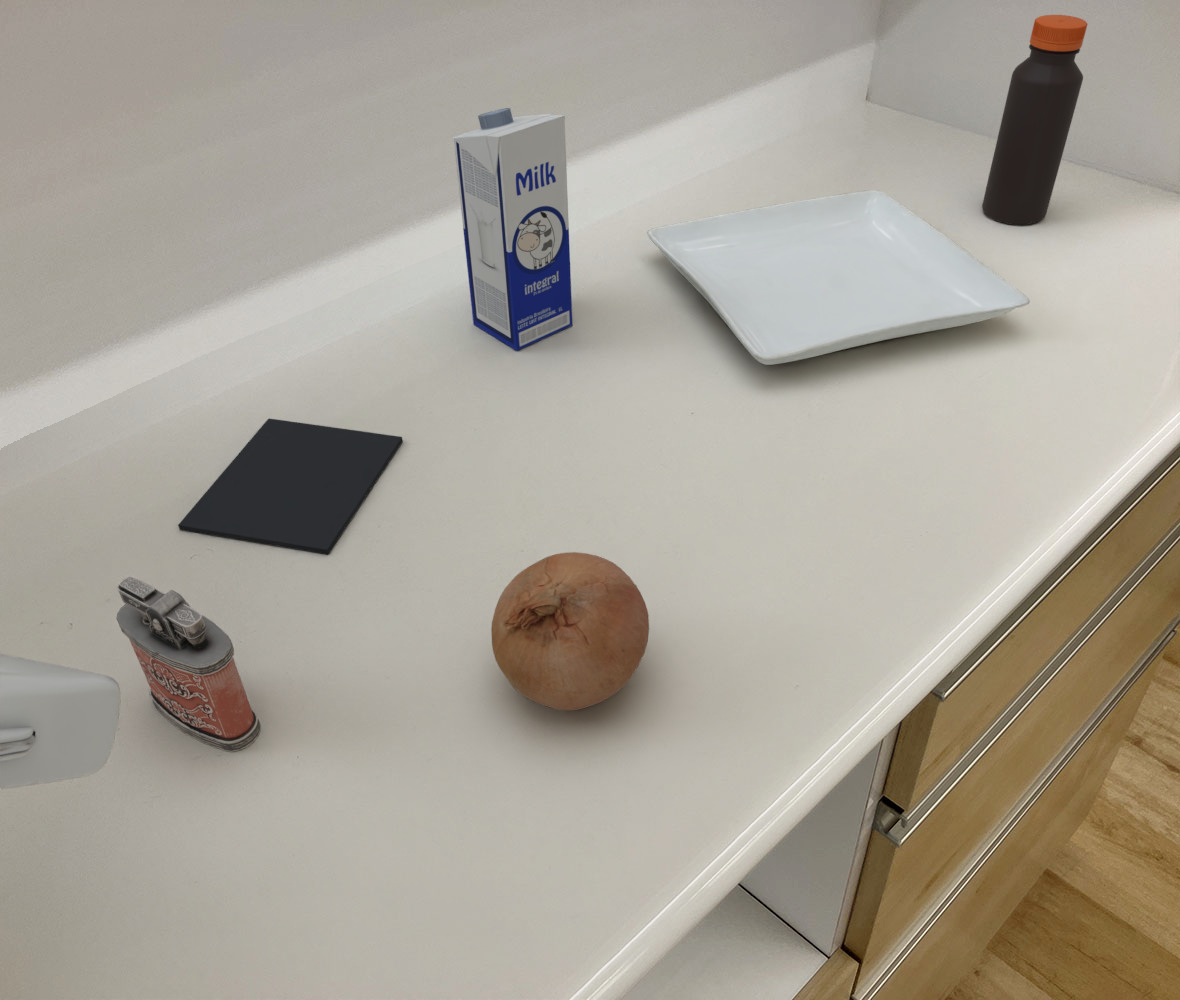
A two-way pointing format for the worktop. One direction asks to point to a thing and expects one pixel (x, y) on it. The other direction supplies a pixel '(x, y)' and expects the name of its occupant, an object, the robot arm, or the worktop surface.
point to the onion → (570, 630)
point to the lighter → (187, 666)
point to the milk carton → (516, 225)
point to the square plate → (831, 274)
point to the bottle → (1036, 123)
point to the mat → (293, 486)
